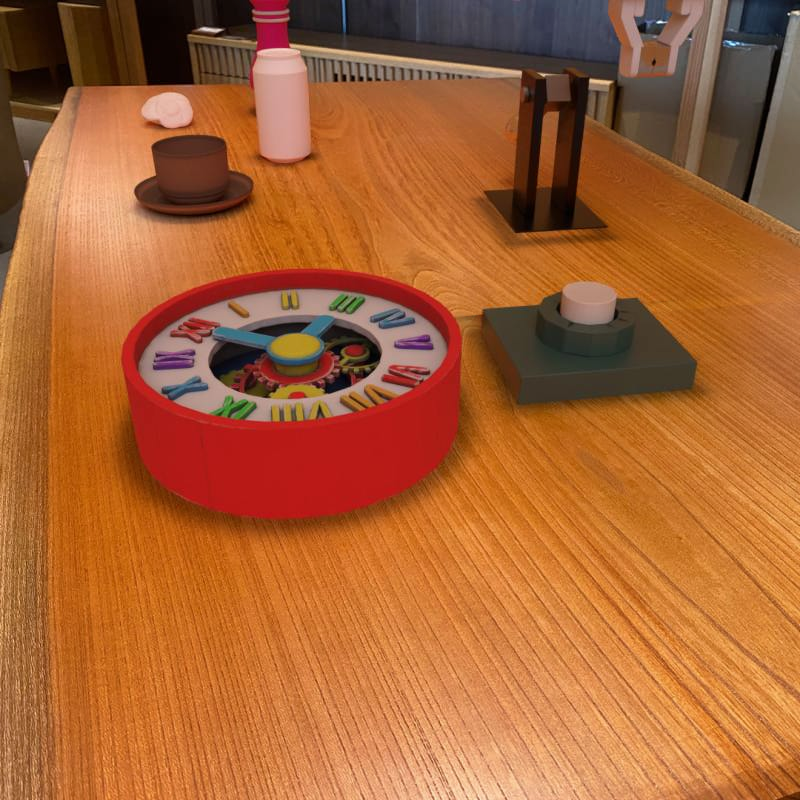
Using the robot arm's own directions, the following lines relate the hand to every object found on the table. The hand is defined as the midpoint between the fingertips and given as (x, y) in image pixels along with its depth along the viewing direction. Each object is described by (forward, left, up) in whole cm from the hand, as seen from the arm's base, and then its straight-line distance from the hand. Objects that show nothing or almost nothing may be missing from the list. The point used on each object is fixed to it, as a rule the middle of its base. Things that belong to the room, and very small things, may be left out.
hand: (645, 75), depth 52 cm
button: (+3, +3, -15) cm, 16 cm away
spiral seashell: (+36, -68, -19) cm, 80 cm away
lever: (-3, -29, -11) cm, 31 cm away
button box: (+3, +3, -19) cm, 19 cm away
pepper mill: (+21, -73, -19) cm, 79 cm away
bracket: (-3, -25, -19) cm, 32 cm away
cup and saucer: (+31, -35, -19) cm, 51 cm away
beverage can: (+21, -50, -19) cm, 58 cm away
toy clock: (+23, +7, -19) cm, 30 cm away
